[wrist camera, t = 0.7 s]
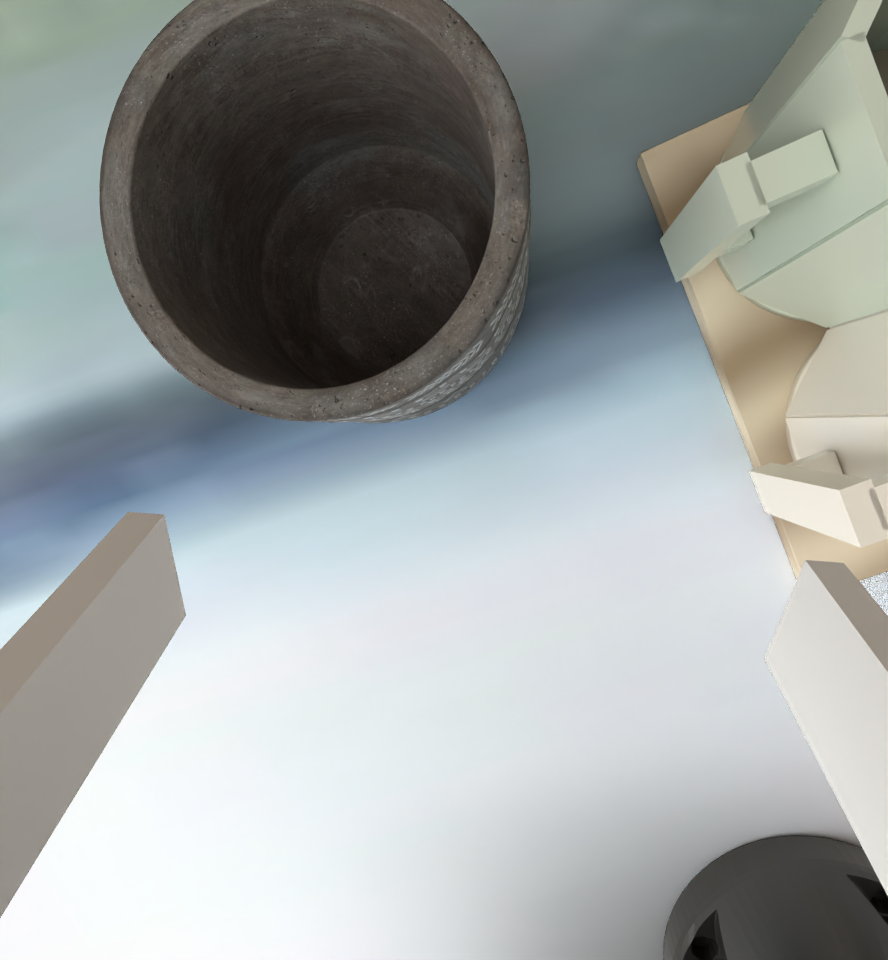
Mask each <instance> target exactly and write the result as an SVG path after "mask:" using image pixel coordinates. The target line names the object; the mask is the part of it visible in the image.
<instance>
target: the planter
mask: <svg viewBox="0 0 888 960" xmlns="http://www.w3.org/2000/svg"><path fill="white" fill-rule="evenodd" d="M100 216H101V225H102V232H103V239H104V243H105V248H106V253H107V256H108V260H109V263H110V267H111V270H112V273H113V276H114V279H115V281H116V284H117V287H118V289H119V291H120V293H121V295H122V298H123V300H124V302H125V304H126V306H127V308H128V310H129V311H130V313H131V315H132V317H133V318H134V320H135V321H136V323H137V324H138V326H139V328H140V329H141V331H142V332H143V333H144V335H145V336H146V337H147V339H148V340H149V341H150V343H151V344H152V345H153V346H154V347H155V348H156V350H157V351H158V352H159V353H160V354H161V355H162V357H163V358H164V359H165V360H166V361H167V362H168V363H169V364H170V365H171V366H172V367H174V368H175V369H176V370H177V371H178V372H179V373H181V374H182V375H183V376H184V377H185V378H186V379H188V380H189V381H190V382H192V383H193V384H195V385H196V386H197V387H199V388H200V389H202V390H204V391H205V392H207V393H209V394H210V395H212V396H214V397H215V398H217V399H219V400H221V401H223V402H225V403H228V404H230V405H233V406H235V407H238V408H240V409H242V410H245V411H248V412H252V413H255V414H258V415H263V416H267V417H272V418H276V419H283V420H291V421H309V422H315V421H319V422H360V423H387V422H397V421H403V420H409V419H413V418H417V417H421V416H424V415H427V414H430V413H433V412H435V411H437V410H439V409H442V408H444V407H446V406H448V405H450V404H451V403H453V402H455V401H456V400H458V399H459V398H461V397H462V396H464V395H465V394H467V393H468V392H469V391H470V390H472V389H473V388H474V387H475V386H476V385H477V384H478V383H480V382H481V381H482V380H483V379H484V378H485V377H486V375H487V374H488V373H489V372H490V371H491V370H492V368H493V367H494V366H495V365H496V364H497V362H498V361H499V359H500V358H501V356H502V355H503V353H504V352H505V350H506V348H507V346H508V345H509V343H510V341H511V339H512V337H513V335H514V333H515V330H516V327H517V325H518V322H519V320H520V316H521V313H522V309H523V305H524V301H525V296H526V290H527V284H528V273H529V239H530V218H531V210H530V170H529V158H528V150H527V144H526V138H525V133H524V129H523V125H522V121H521V117H520V113H519V110H518V107H517V104H516V101H515V98H514V96H513V94H512V91H511V89H510V87H509V84H508V82H507V79H506V78H505V76H504V74H503V72H502V70H501V68H500V66H499V65H498V63H497V61H496V60H495V58H494V57H493V55H492V54H491V52H490V50H489V49H488V47H487V46H486V45H485V43H484V42H483V41H482V39H481V38H480V37H479V35H478V34H477V33H476V32H475V31H474V30H473V28H472V27H471V26H470V25H469V24H468V23H467V22H466V21H465V19H464V18H463V17H462V16H461V15H459V14H458V13H457V12H456V11H455V10H454V9H453V8H452V7H451V6H450V5H448V4H447V3H446V2H445V1H443V0H194V1H193V2H192V3H190V4H189V5H188V6H187V7H185V8H184V9H183V10H182V11H181V12H179V13H178V14H177V15H176V16H175V17H174V18H173V19H172V20H171V21H170V22H169V23H168V24H167V25H166V26H165V27H164V28H163V29H162V30H161V31H160V33H159V34H158V35H157V36H156V37H155V38H154V39H153V41H152V42H151V43H150V44H149V46H148V47H147V48H146V50H145V51H144V52H143V54H142V55H141V57H140V59H139V60H138V62H137V63H136V65H135V66H134V68H133V69H132V71H131V73H130V75H129V77H128V79H127V80H126V82H125V84H124V87H123V89H122V91H121V93H120V96H119V98H118V100H117V103H116V105H115V108H114V111H113V114H112V117H111V120H110V124H109V127H108V131H107V135H106V139H105V144H104V149H103V156H102V163H101V172H100Z"/></svg>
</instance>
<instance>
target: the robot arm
mask: <svg viewBox="0 0 888 960" xmlns="http://www.w3.org/2000/svg"><path fill="white" fill-rule="evenodd" d="M185 616H186V614H185V609H184V605H183V600H182V595H181V591H180V586H179V581H178V577H177V572H176V567H175V563H174V558H173V553H172V548H171V544H170V539H169V534H168V530H167V525H166V520H165V516H164V515H162V514H148V513H134V512H128V513H127V514H126V515H125V516H124V517H123V518H122V519H121V520H120V521H119V522H118V523H117V525H116V526H115V527H114V528H113V529H112V530H111V531H110V532H109V533H108V534H107V535H106V536H105V537H104V539H103V540H102V541H101V542H100V543H99V544H98V545H97V546H96V547H95V548H94V549H93V550H92V552H91V553H90V554H89V555H88V556H87V557H86V558H85V559H84V560H83V561H82V562H81V563H80V564H79V566H78V567H77V568H76V569H75V570H74V571H73V572H72V573H71V574H70V575H69V576H68V577H67V579H66V580H65V581H64V582H63V583H62V584H61V585H60V586H59V587H58V588H57V589H56V590H55V591H54V593H53V594H52V595H51V596H50V597H49V598H48V599H47V600H46V601H45V602H44V603H43V604H42V606H41V607H40V608H39V609H38V610H37V611H36V612H35V613H34V614H33V615H32V616H31V617H30V618H29V620H28V621H27V622H26V623H25V624H24V625H23V626H22V627H21V628H20V629H19V630H18V631H17V633H16V634H15V635H14V636H13V637H12V638H11V639H10V640H9V641H8V642H7V643H6V644H5V645H4V647H3V648H2V649H1V650H0V918H1V916H2V914H3V913H4V911H5V909H6V908H7V906H8V904H9V903H10V901H11V900H12V898H13V896H14V895H15V893H16V891H17V890H18V888H19V887H20V885H21V883H22V882H23V880H24V878H25V877H26V875H27V873H28V872H29V870H30V869H31V867H32V865H33V864H34V862H35V860H36V859H37V857H38V856H39V854H40V852H41V851H42V849H43V847H44V846H45V844H46V842H47V841H48V839H49V838H50V836H51V834H52V833H53V831H54V829H55V828H56V826H57V825H58V823H59V821H60V820H61V818H62V816H63V815H64V813H65V811H66V810H67V808H68V807H69V805H70V803H71V802H72V800H73V798H74V797H75V795H76V794H77V792H78V790H79V789H80V787H81V785H82V784H83V782H84V780H85V779H86V777H87V776H88V774H89V772H90V771H91V769H92V767H93V766H94V764H95V763H96V761H97V759H98V758H99V756H100V754H101V753H102V751H103V750H104V748H105V746H106V745H107V743H108V741H109V740H110V738H111V736H112V735H113V733H114V732H115V730H116V728H117V727H118V725H119V723H120V722H121V720H122V719H123V717H124V715H125V714H126V712H127V710H128V709H129V707H130V705H131V704H132V702H133V701H134V699H135V697H136V696H137V694H138V692H139V691H140V689H141V688H142V686H143V684H144V683H145V681H146V679H147V678H148V676H149V674H150V673H151V671H152V670H153V668H154V666H155V665H156V663H157V661H158V660H159V658H160V657H161V655H162V653H163V652H164V650H165V648H166V647H167V645H168V643H169V642H170V640H171V639H172V637H173V635H174V634H175V632H176V630H177V629H178V627H179V626H180V624H181V622H182V621H183V619H184V617H185ZM764 660H765V662H766V664H767V665H768V667H769V669H770V671H771V673H772V675H773V677H774V679H775V681H776V683H777V685H778V687H779V689H780V690H781V692H782V694H783V696H784V698H785V700H786V702H787V704H788V706H789V708H790V710H791V712H792V713H793V715H794V717H795V719H796V721H797V723H798V725H799V727H800V729H801V731H802V733H803V735H804V736H805V738H806V740H807V742H808V744H809V746H810V748H811V750H812V752H813V754H814V756H815V758H816V760H817V761H818V763H819V765H820V767H821V769H822V771H823V773H824V775H825V777H826V779H827V781H828V783H829V784H830V786H831V788H832V790H833V792H834V794H835V796H836V798H837V800H838V802H839V804H840V806H841V807H842V809H843V811H844V813H845V815H846V817H847V819H848V821H849V823H850V825H851V827H852V829H853V831H854V832H855V834H856V836H857V838H858V840H859V842H860V844H861V846H862V848H863V849H862V848H859V847H856V846H854V845H851V844H847V843H844V842H841V841H836V840H832V839H826V838H820V837H810V836H786V837H776V838H771V839H765V840H761V841H757V842H753V843H750V844H747V845H744V846H742V847H739V848H737V849H735V850H732V851H730V852H728V853H726V854H725V855H723V856H721V857H720V858H718V859H716V860H715V861H713V862H712V863H711V864H709V865H708V866H707V867H705V868H704V869H703V870H702V871H701V872H700V873H699V874H698V875H697V876H695V878H694V879H693V880H692V881H691V882H690V883H689V884H688V886H687V887H686V888H685V889H684V891H683V892H682V894H681V895H680V897H679V898H678V900H677V902H676V904H675V906H674V908H673V910H672V913H671V915H670V918H669V921H668V924H667V928H666V932H665V937H664V946H663V960H888V616H887V615H886V614H885V612H884V611H883V610H882V609H881V608H880V606H879V605H878V604H877V603H876V601H875V600H874V599H873V598H872V597H871V595H870V594H869V593H868V592H867V590H866V589H865V588H864V587H863V586H862V584H861V583H860V582H859V581H858V579H857V578H856V577H855V576H854V575H853V573H852V572H851V571H850V570H849V568H848V567H847V566H846V565H845V564H844V563H841V562H827V561H813V560H805V562H804V564H803V566H802V569H801V571H800V574H799V576H798V579H797V581H796V583H795V586H794V588H793V591H792V593H791V595H790V598H789V600H788V603H787V605H786V607H785V610H784V612H783V615H782V617H781V619H780V622H779V624H778V627H777V629H776V631H775V634H774V636H773V639H772V641H771V643H770V646H769V648H768V651H767V653H766V655H765V658H764Z"/></svg>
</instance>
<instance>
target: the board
mask: <svg viewBox="0 0 888 960" xmlns="http://www.w3.org/2000/svg"><path fill="white" fill-rule="evenodd" d="M749 104H750V103H749ZM749 104H747V105H745V106H742V107H740V108H738V109H736V110H734V111H732V112H729V113H727V114H725V115H723V116H721V117H719V118H716V119H714V120H712V121H710V122H708V123H706V124H703V125H701V126H699V127H697V128H695V129H693V130H690V131H688V132H686V133H684V134H682V135H680V136H677V137H675V138H673V139H671V140H669V141H667V142H664V143H662V144H660V145H658V146H656V147H654V148H651V149H649V150H647V151H645V152H643V153H641V154H640V156H639V158H638V160H637V163H636V164H637V167H638V169H639V172H640V175H641V177H642V180H643V182H644V185H645V188H646V190H647V193H648V195H649V198H650V201H651V203H652V206H653V208H654V211H655V214H656V216H657V219H658V221H659V224H660V227H661V229H662V232H663V234H665V232H666V231H667V230H668V228H669V227H670V226H671V224H672V223H673V222H674V220H675V219H676V218H677V216H678V215H679V214H680V213H681V211H682V210H683V209H684V207H685V206H686V205H687V203H688V202H689V201H690V199H691V198H692V197H693V195H694V194H695V193H696V191H697V190H698V189H699V187H700V186H701V185H702V183H703V182H704V181H705V179H706V178H707V177H708V176H709V174H710V173H711V172H712V170H713V169H714V168H715V166H717V165H718V164H719V162H720V160H721V158H722V156H723V154H724V152H725V151H726V149H727V148H728V146H729V145H730V143H731V140H732V138H733V136H734V134H735V131H736V129H737V127H738V125H739V123H740V120H741V118H742V116H743V114H744V111H745V110H746V109H747V107H748V106H749ZM681 281H682V284H683V286H684V289H685V291H686V294H687V297H688V299H689V302H690V304H691V307H692V310H693V312H694V315H695V317H696V320H697V322H698V325H699V328H700V330H701V333H702V335H703V338H704V341H705V343H706V346H707V348H708V351H709V354H710V356H711V359H712V361H713V364H714V367H715V369H716V372H717V374H718V377H719V380H720V382H721V385H722V387H723V390H724V393H725V395H726V398H727V400H728V403H729V405H730V408H731V411H732V413H733V416H734V418H735V421H736V424H737V426H738V429H739V431H740V434H741V437H742V439H743V442H744V444H745V447H746V450H747V452H748V455H749V457H750V460H751V463H752V465H753V468H754V469H756V468H759V467H761V466H764V465H767V464H769V463H775V464H781V465H786V464H789V463H791V462H793V460H792V457H791V454H790V451H789V447H788V443H787V436H786V420H785V418H786V416H785V414H786V410H787V402H788V398H789V395H790V391H791V388H792V385H793V383H794V380H795V378H796V375H797V374H798V372H799V370H800V368H801V367H802V365H803V363H804V361H805V360H806V359H807V357H808V356H809V355H810V353H811V352H812V351H813V349H814V348H815V347H816V346H817V345H818V344H819V343H820V342H821V341H822V339H823V337H824V335H825V333H826V331H827V330H829V329H830V328H829V327H828V328H825V327H823V326H820V325H817V324H815V323H812V322H806V321H798V320H792V319H787V318H784V317H781V316H778V315H775V314H772V313H770V312H768V311H766V310H764V309H762V308H760V307H758V306H757V305H755V304H754V303H752V302H751V301H749V300H748V299H746V298H745V297H744V296H743V295H741V294H738V293H739V292H738V291H736V289H735V287H734V286H733V285H732V284H731V283H730V282H729V280H728V279H727V278H726V276H725V275H724V273H723V272H722V270H721V268H720V267H719V265H718V263H717V260H716V259H714V260H713V261H712V262H711V263H710V264H708V265H707V266H706V267H705V268H704V269H703V270H701V271H700V272H699V273H697V274H695V275H693V276H690V277H688V278H686V279H683V280H681ZM772 517H773V520H774V522H775V525H776V527H777V530H778V533H779V535H780V538H781V540H782V543H783V546H784V548H785V551H786V553H787V556H788V559H789V561H790V564H791V566H792V569H793V571H794V574H795V577H796V579H798V576H799V574H800V571H801V569H802V566H803V564H804V562H805V560H813V561H827V562H841V563H844V564H845V565H846V566H847V567H848V568H849V570H850V571H851V572H852V573H853V575H854V576H855V577H856V578H857V579H858V581H860V580H863V579H866V578H869V577H872V576H875V575H878V574H881V573H883V572H886V571H888V539H885V540H882V541H879V542H876V543H874V544H871V545H868V546H865V547H862V548H860V547H857V546H855V545H852V544H849V543H847V542H844V541H841V540H838V539H836V538H833V537H830V536H828V535H825V534H822V533H819V532H817V531H814V530H811V529H809V528H806V527H803V526H800V525H798V524H795V523H792V522H790V521H787V520H784V519H781V518H779V517H776V516H773V515H772Z"/></svg>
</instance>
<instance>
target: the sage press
mask: <svg viewBox="0 0 888 960" xmlns="http://www.w3.org/2000/svg"><path fill="white" fill-rule="evenodd" d="M660 242H661V245H662V247H663V250H664V253H665V255H666V258H667V260H668V263H669V266H670V268H671V271H672V273H673V276H674V279H675V281H676V282H679V281H681V280H683V279H686V278H688V277H690V276H693V275H695V274H697V273H699V272H700V271H701V270H703V269H704V268H705V267H706V266H707V265H708V264H710V263H711V262H712V261H713V260H714V259H716V260H717V263H718V265H719V267H720V268H721V270H722V272H723V273H724V275H725V276H726V278H727V279H728V280H729V282H730V283H731V284H732V285H733V286H734V287H735V289H736V291H738V292H739V293H738V294H741V295H743V296H744V297H745V298H746V299H748V300H749V301H751V302H752V303H754V304H755V305H757V306H758V307H760V308H762V309H764V310H766V311H768V312H770V313H772V314H775V315H778V316H781V317H784V318H787V319H792V320H798V321H806V322H812V323H815V324H817V325H820V326H823V327H825V328H828V327H829V328H830V327H834V326H837V325H840V324H843V323H847V322H850V321H853V320H856V319H860V318H863V317H866V316H869V315H873V314H876V313H879V312H882V311H886V310H888V0H824V1H823V3H822V4H821V5H820V7H819V8H818V10H817V11H816V12H815V14H814V15H813V17H812V18H811V19H810V21H809V22H808V23H807V25H806V26H805V28H804V29H803V30H802V32H801V33H800V35H799V36H798V37H797V39H796V40H795V42H794V43H793V44H792V46H791V47H790V49H789V50H788V51H787V53H786V54H785V56H784V57H783V58H782V60H781V61H780V63H779V64H778V65H777V67H776V68H775V70H774V71H773V72H772V74H771V75H770V77H769V78H768V79H767V81H766V82H765V84H764V85H763V86H762V88H761V89H760V90H759V92H758V93H757V95H756V96H755V97H754V99H753V100H752V102H751V103H750V104H749V106H748V107H747V109H746V110H745V111H744V114H743V116H742V118H741V120H740V123H739V125H738V127H737V129H736V131H735V134H734V136H733V138H732V140H731V143H730V145H729V146H728V148H727V149H726V151H725V152H724V154H723V156H722V158H721V160H720V162H719V164H718V165H717V166H715V168H714V169H713V170H712V172H711V173H710V174H709V176H708V177H707V178H706V179H705V181H704V182H703V183H702V185H701V186H700V187H699V189H698V190H697V191H696V193H695V194H694V195H693V197H692V198H691V199H690V201H689V202H688V203H687V205H686V206H685V207H684V209H683V210H682V211H681V213H680V214H679V215H678V216H677V218H676V219H675V220H674V222H673V223H672V224H671V226H670V227H669V228H668V230H667V231H666V232H665V234H664V235H663V236H662V238H661V239H660Z"/></svg>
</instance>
